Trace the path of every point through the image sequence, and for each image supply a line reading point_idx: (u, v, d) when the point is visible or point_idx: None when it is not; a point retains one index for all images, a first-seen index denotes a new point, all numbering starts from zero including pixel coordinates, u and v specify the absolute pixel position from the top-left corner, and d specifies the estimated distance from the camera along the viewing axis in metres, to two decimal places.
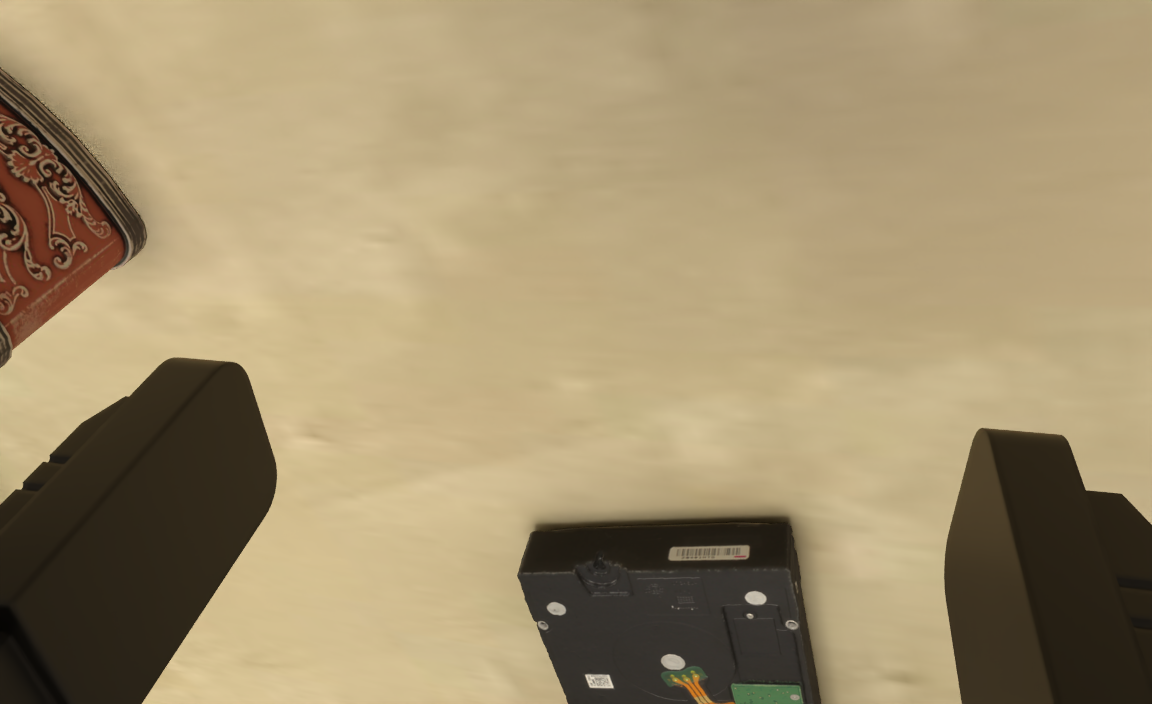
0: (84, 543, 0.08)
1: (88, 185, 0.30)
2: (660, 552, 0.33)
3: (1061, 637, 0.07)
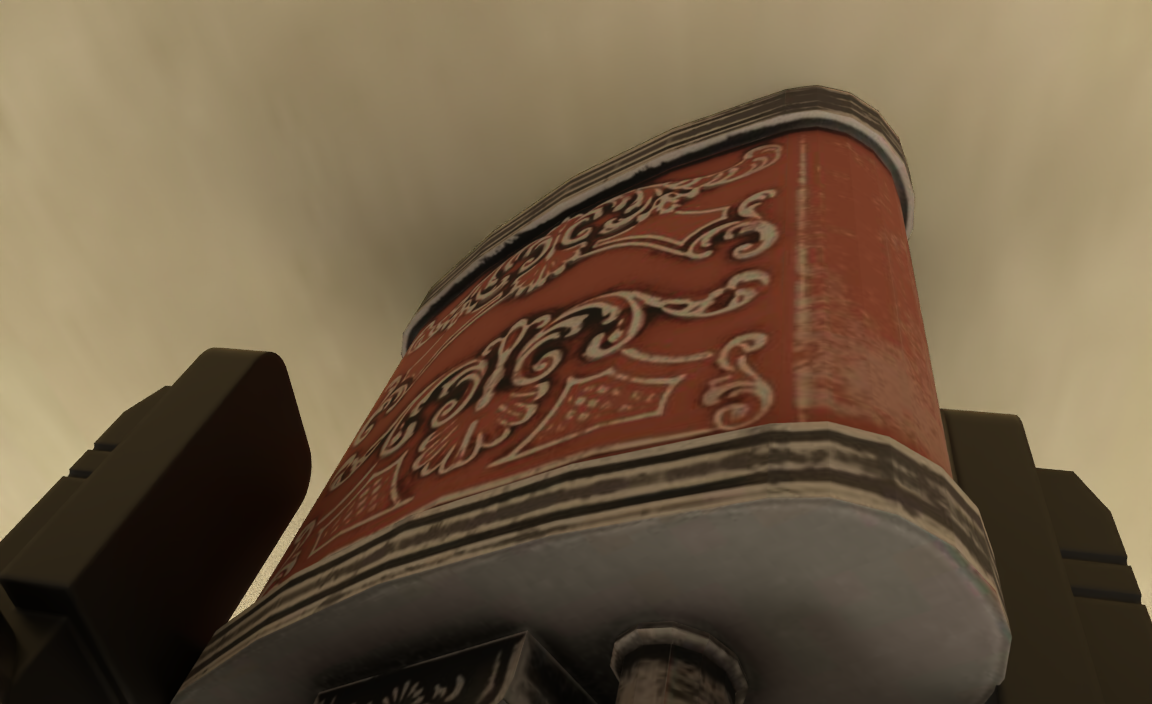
0: (135, 528, 0.08)
1: (654, 166, 0.12)
2: None
3: None
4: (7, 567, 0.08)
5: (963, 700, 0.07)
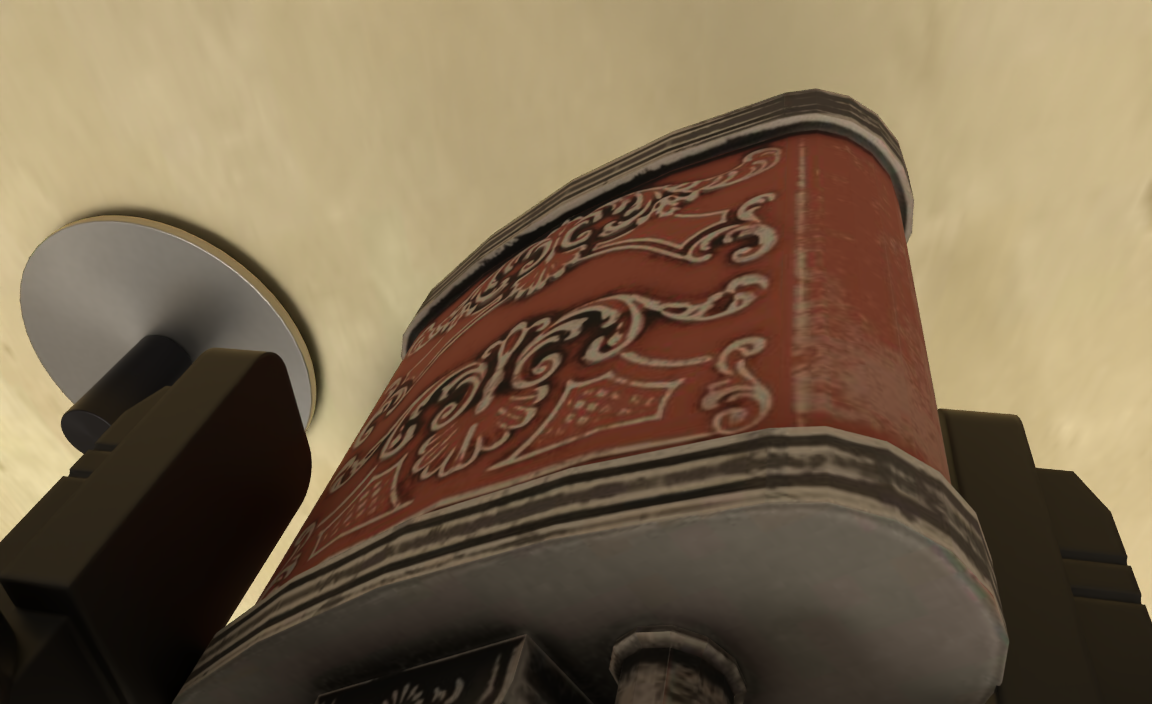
0: (136, 528, 0.08)
1: (654, 168, 0.12)
2: None
3: (1002, 604, 0.07)
4: (7, 567, 0.08)
5: (961, 703, 0.07)
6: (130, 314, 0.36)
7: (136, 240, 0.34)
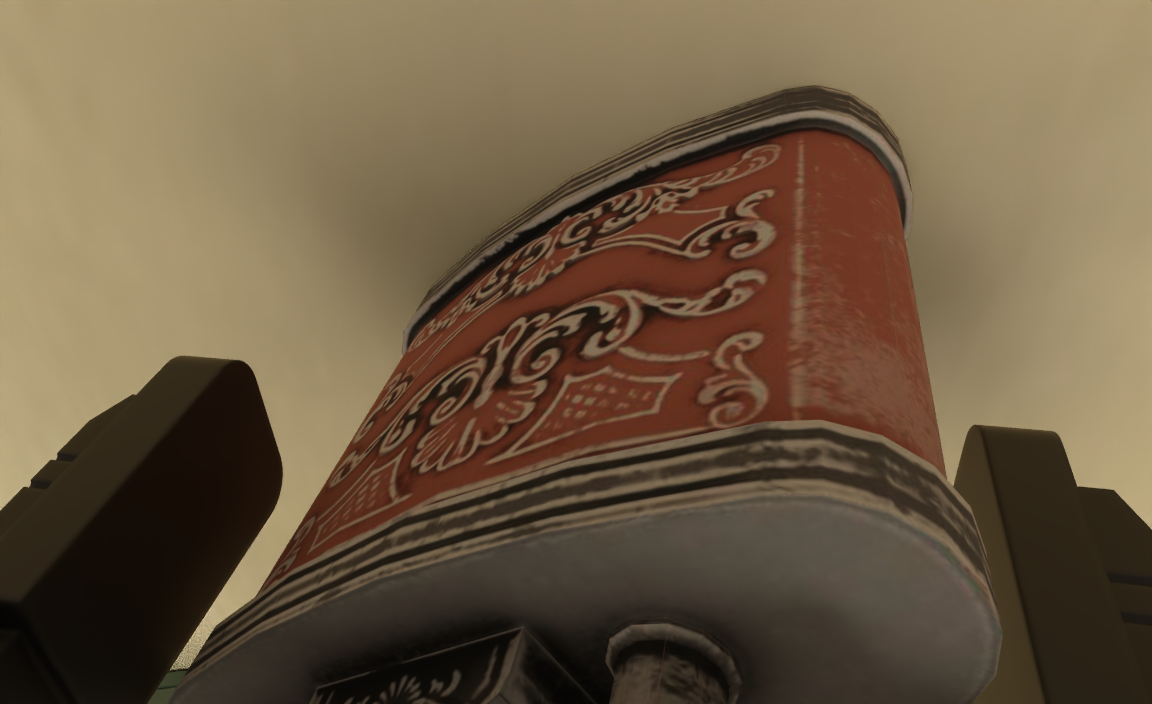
0: (93, 540, 0.08)
1: (654, 166, 0.12)
2: None
3: (1051, 631, 0.07)
4: None
5: (955, 697, 0.07)
6: None
7: None
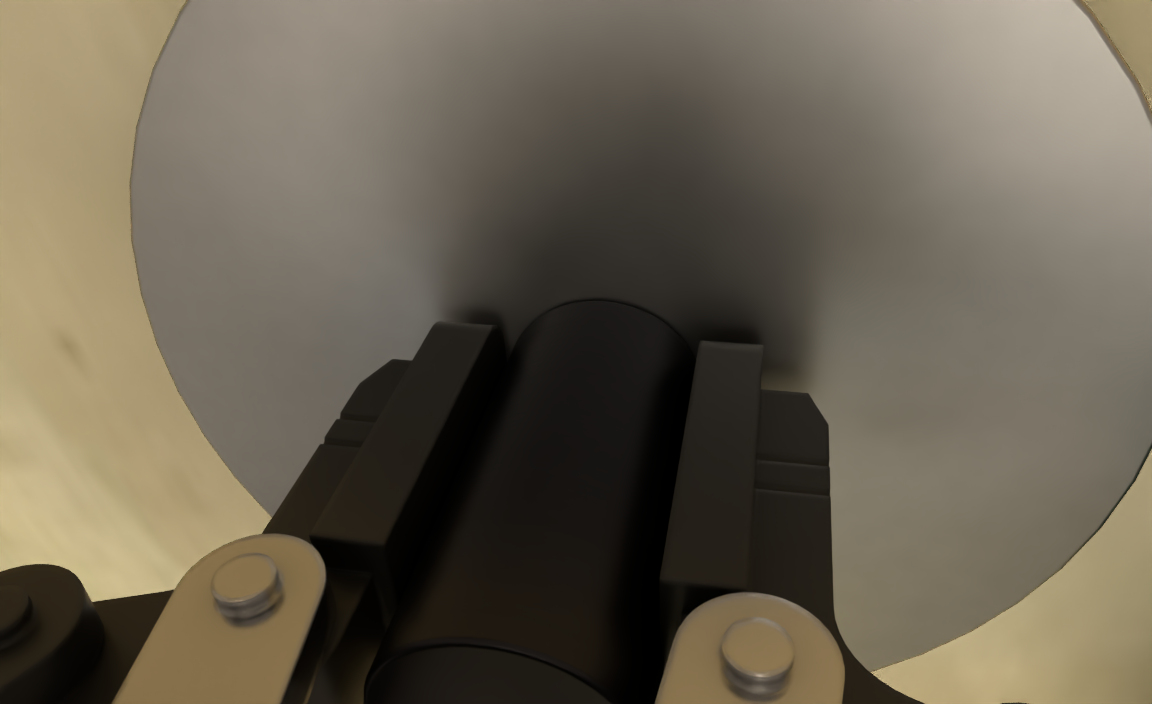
0: (420, 490, 0.08)
1: None
2: None
3: (692, 490, 0.08)
4: (314, 526, 0.08)
5: None
6: (527, 225, 0.10)
7: None
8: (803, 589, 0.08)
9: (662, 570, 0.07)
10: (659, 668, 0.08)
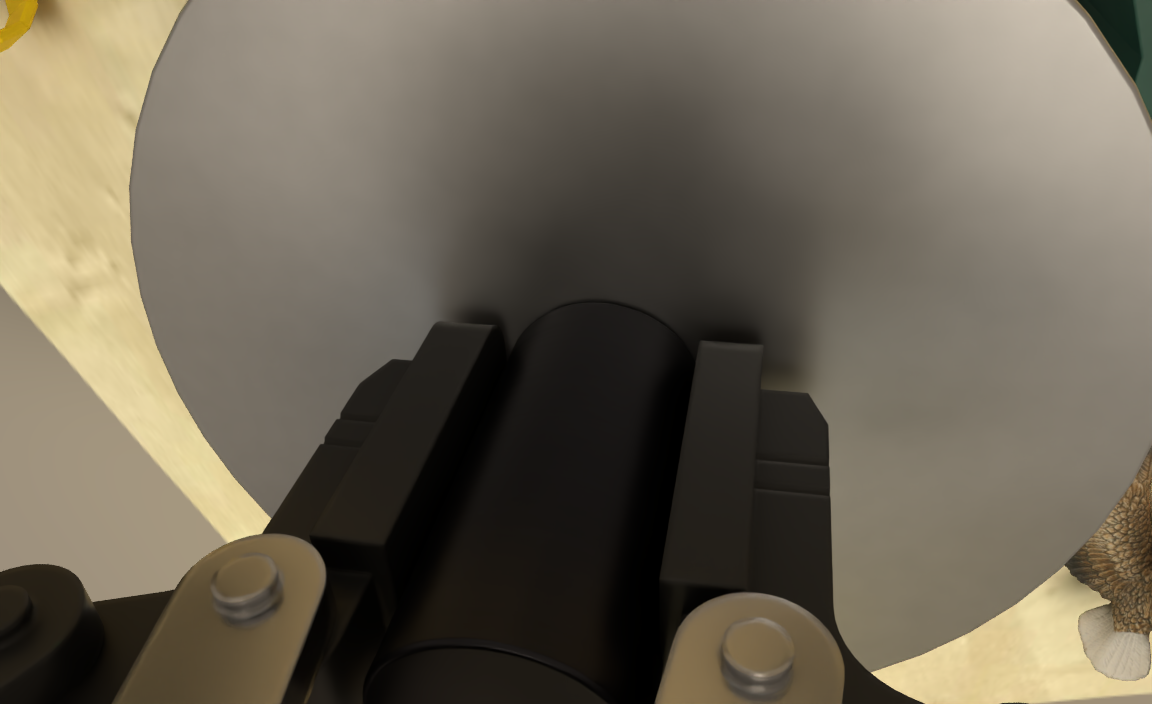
0: (420, 490, 0.08)
1: None
2: None
3: (692, 490, 0.08)
4: (314, 526, 0.08)
5: None
6: (526, 227, 0.10)
7: None
8: (803, 589, 0.08)
9: None
10: (657, 669, 0.08)
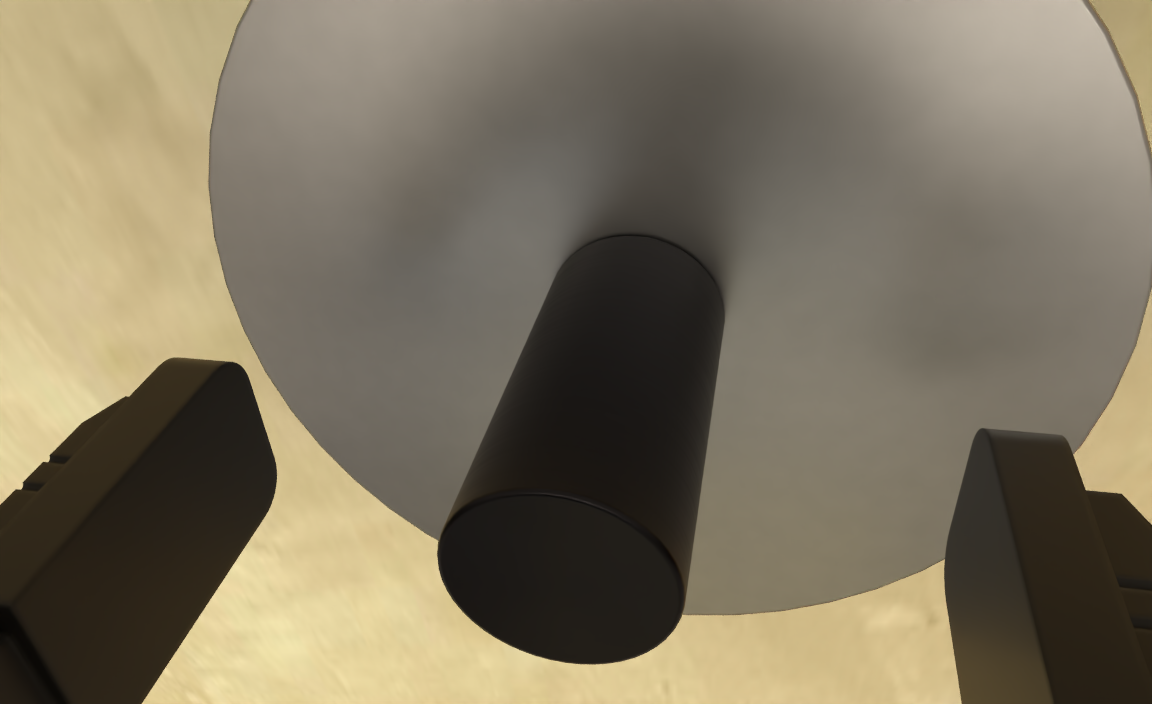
0: (83, 543, 0.08)
1: None
2: None
3: (1060, 637, 0.07)
4: None
5: None
6: (568, 166, 0.11)
7: None
8: None
9: None
10: (691, 530, 0.09)
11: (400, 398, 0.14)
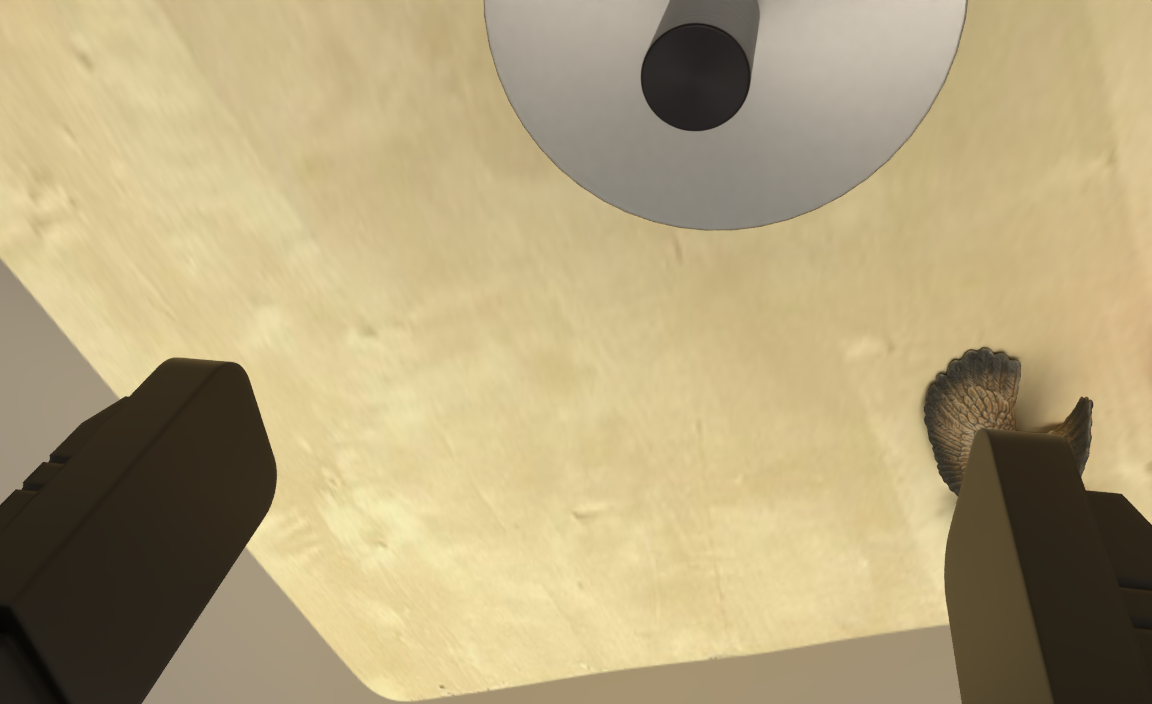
0: (84, 543, 0.08)
1: None
2: None
3: (1061, 637, 0.07)
4: None
5: None
6: None
7: None
8: None
9: None
10: (751, 61, 0.20)
11: (576, 87, 0.26)
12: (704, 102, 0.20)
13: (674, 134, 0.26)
